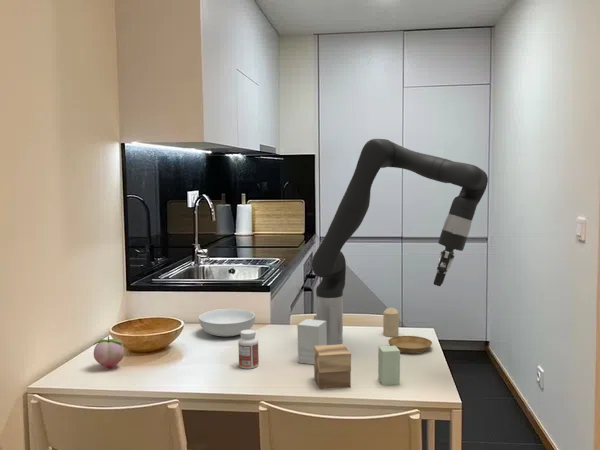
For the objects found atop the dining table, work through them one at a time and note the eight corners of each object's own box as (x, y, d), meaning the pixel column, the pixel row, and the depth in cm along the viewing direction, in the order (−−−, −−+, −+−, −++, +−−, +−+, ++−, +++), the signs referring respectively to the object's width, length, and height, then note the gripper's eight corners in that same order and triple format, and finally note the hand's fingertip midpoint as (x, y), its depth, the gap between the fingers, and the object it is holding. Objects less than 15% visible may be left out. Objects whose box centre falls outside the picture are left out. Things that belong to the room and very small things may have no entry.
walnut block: (314, 378, 180) (314, 362, 179) (344, 376, 181) (344, 360, 181) (319, 389, 171) (319, 372, 171) (350, 388, 172) (350, 370, 172)
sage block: (378, 379, 178) (378, 346, 177) (394, 378, 179) (395, 345, 178) (382, 385, 173) (382, 351, 172) (399, 384, 174) (400, 350, 173)
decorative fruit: (126, 362, 195) (125, 331, 194) (123, 370, 187) (122, 339, 186) (96, 364, 193) (94, 333, 192) (91, 372, 185) (90, 340, 184)
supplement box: (327, 358, 197) (327, 320, 196) (318, 365, 190) (318, 326, 189) (306, 355, 200) (306, 318, 199) (297, 362, 193) (296, 323, 192)
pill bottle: (254, 361, 195) (253, 327, 194) (261, 367, 189) (261, 332, 188) (236, 364, 192) (235, 330, 191) (242, 370, 187) (242, 335, 185)
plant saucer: (379, 350, 206) (379, 342, 206) (402, 340, 218) (402, 332, 217) (418, 359, 197) (418, 351, 197) (439, 348, 208) (439, 340, 208)
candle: (398, 337, 220) (398, 310, 219) (382, 336, 221) (383, 309, 220) (398, 333, 225) (399, 306, 224) (383, 332, 226) (384, 306, 225)
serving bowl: (187, 335, 224) (186, 317, 223) (225, 323, 241) (224, 306, 241) (229, 345, 212) (229, 325, 212) (266, 331, 229) (266, 313, 229)
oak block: (314, 362, 179) (314, 345, 179) (344, 360, 181) (344, 344, 180) (319, 372, 170) (319, 355, 170) (351, 370, 172) (351, 353, 171)
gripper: (444, 228, 187) (427, 278, 188) (441, 227, 173) (423, 281, 174) (468, 236, 184) (451, 286, 186) (467, 236, 171) (449, 290, 172)
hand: (437, 284), depth 180 cm, fingers open, 8 cm apart
